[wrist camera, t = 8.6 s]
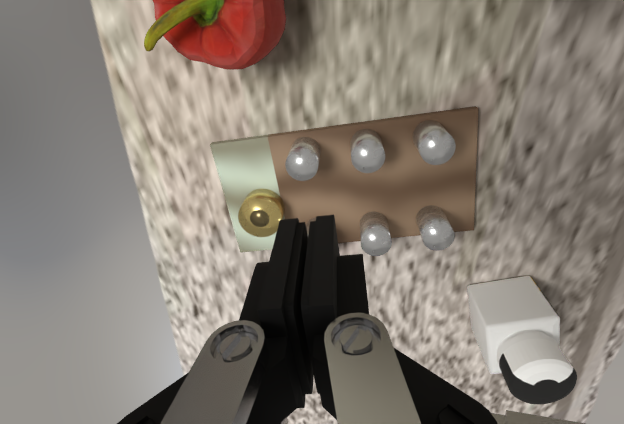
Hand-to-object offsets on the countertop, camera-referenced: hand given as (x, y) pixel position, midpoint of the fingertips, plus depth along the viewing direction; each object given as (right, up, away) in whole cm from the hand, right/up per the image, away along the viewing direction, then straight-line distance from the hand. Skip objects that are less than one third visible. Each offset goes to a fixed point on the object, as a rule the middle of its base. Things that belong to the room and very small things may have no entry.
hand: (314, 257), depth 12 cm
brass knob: (-5, +2, +30) cm, 30 cm away
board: (+3, +4, +29) cm, 29 cm away
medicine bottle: (+22, -9, +34) cm, 42 cm away
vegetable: (-7, +20, +22) cm, 30 cm away
